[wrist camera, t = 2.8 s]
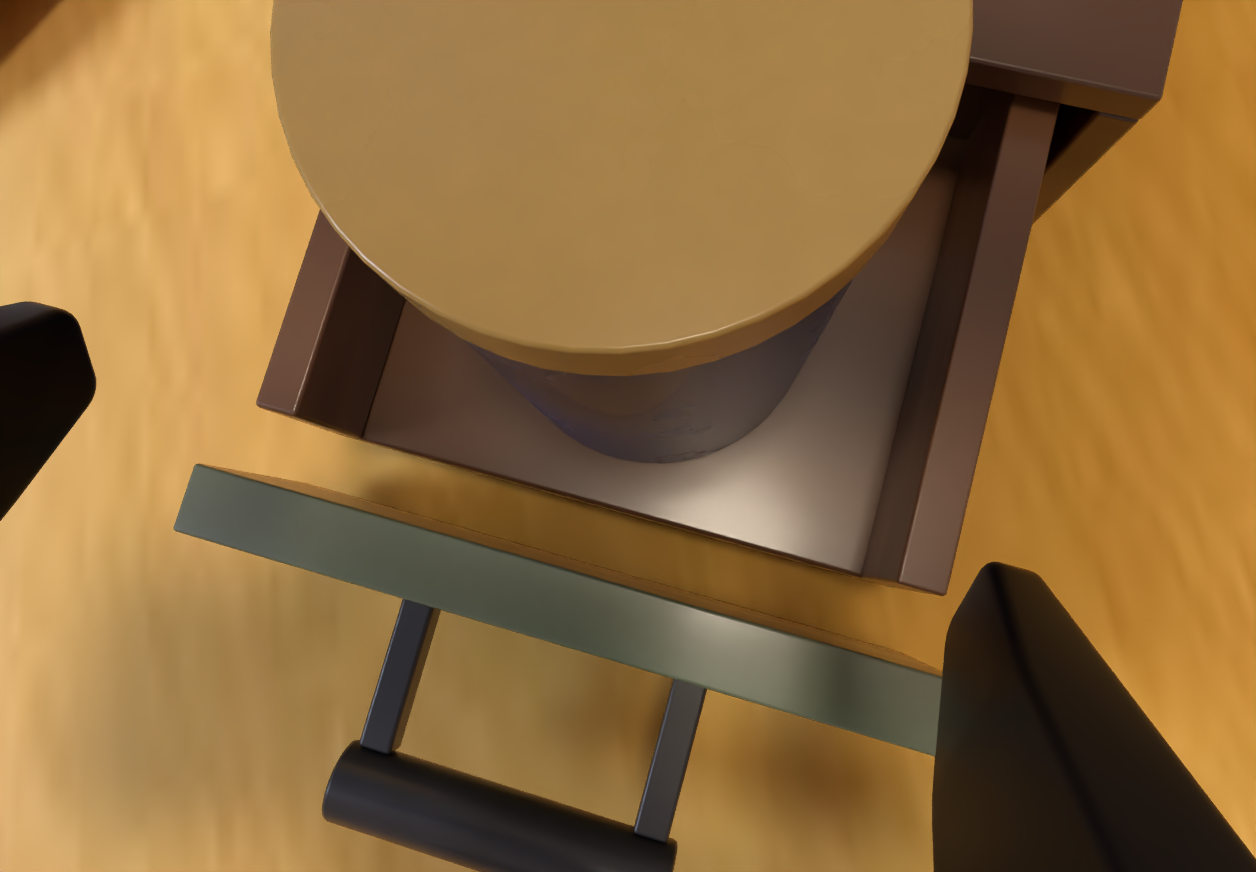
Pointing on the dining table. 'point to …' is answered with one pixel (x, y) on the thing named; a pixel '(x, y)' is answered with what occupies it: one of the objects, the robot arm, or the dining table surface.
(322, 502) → the drawer
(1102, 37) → the brown box
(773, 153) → the tea tin
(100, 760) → the dining table surface
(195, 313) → the dining table surface
